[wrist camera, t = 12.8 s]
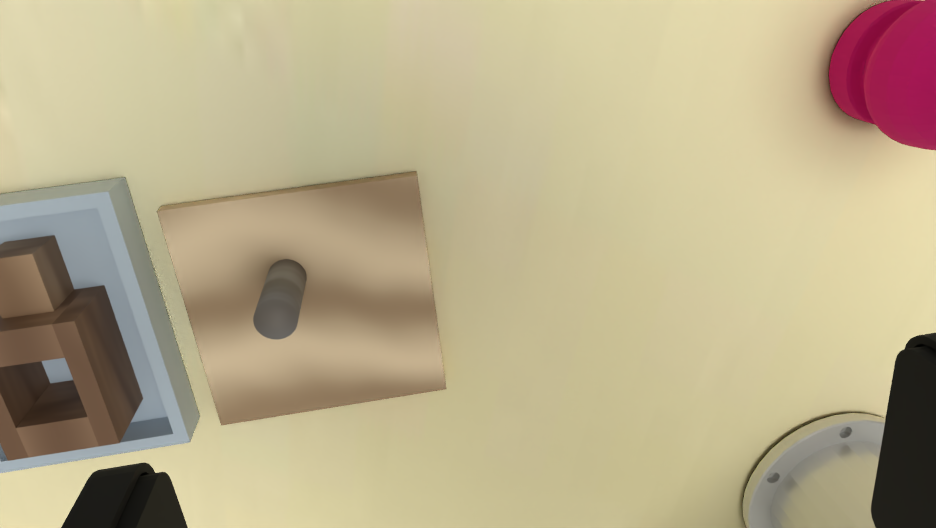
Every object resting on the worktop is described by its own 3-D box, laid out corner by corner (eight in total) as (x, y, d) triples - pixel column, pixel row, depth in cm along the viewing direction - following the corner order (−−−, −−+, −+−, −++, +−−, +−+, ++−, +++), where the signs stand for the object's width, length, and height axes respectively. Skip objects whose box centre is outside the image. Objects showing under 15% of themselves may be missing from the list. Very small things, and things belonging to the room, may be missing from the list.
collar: (85, 231, 34) (52, 261, 31) (143, 398, 38) (119, 443, 35) (-28, 246, 34) (-75, 279, 30) (42, 413, 38) (7, 460, 34)
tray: (199, 416, 40) (190, 442, 38) (13, 446, 39) (-8, 474, 37) (124, 177, 34) (108, 191, 32) (-96, 206, 34) (-128, 223, 31)
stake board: (444, 381, 41) (455, 441, 36) (223, 416, 40) (201, 484, 35) (416, 171, 36) (423, 205, 31) (161, 205, 35) (124, 247, 30)
